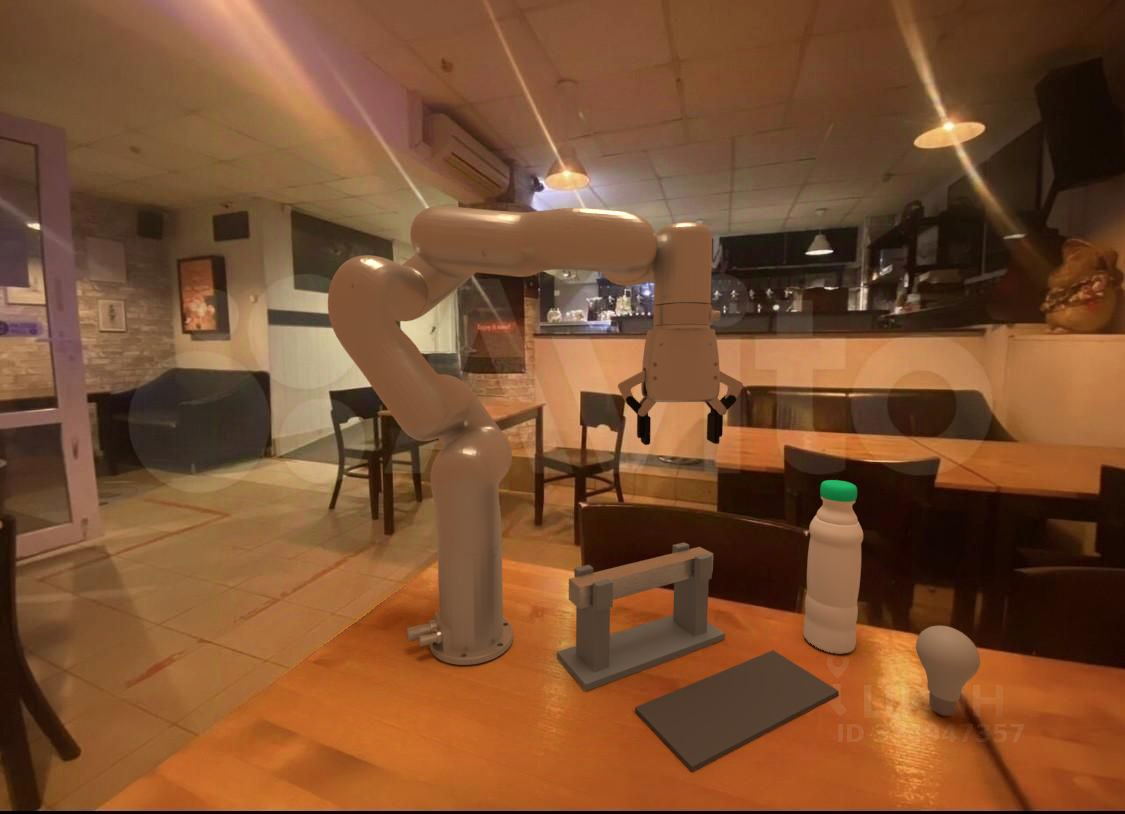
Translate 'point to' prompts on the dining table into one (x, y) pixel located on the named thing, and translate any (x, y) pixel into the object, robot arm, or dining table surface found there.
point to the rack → (639, 631)
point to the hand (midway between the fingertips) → (679, 442)
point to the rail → (637, 576)
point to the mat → (733, 707)
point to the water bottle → (833, 570)
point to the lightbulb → (946, 665)
